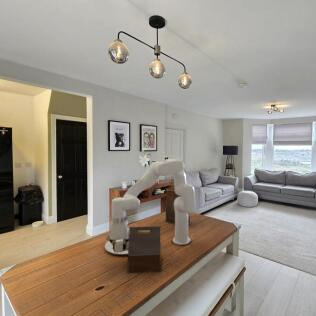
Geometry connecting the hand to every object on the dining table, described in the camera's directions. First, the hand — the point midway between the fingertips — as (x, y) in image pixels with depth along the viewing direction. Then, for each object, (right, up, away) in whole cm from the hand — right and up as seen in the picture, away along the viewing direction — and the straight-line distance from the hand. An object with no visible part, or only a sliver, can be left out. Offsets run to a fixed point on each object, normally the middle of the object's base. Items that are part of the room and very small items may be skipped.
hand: (119, 249), depth 113 cm
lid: (+16, +9, -8) cm, 20 cm away
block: (0, 0, 0) cm, 0 cm away
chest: (+16, -7, -3) cm, 18 cm away
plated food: (-1, -6, +19) cm, 20 cm away
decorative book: (+29, -5, +61) cm, 68 cm away
